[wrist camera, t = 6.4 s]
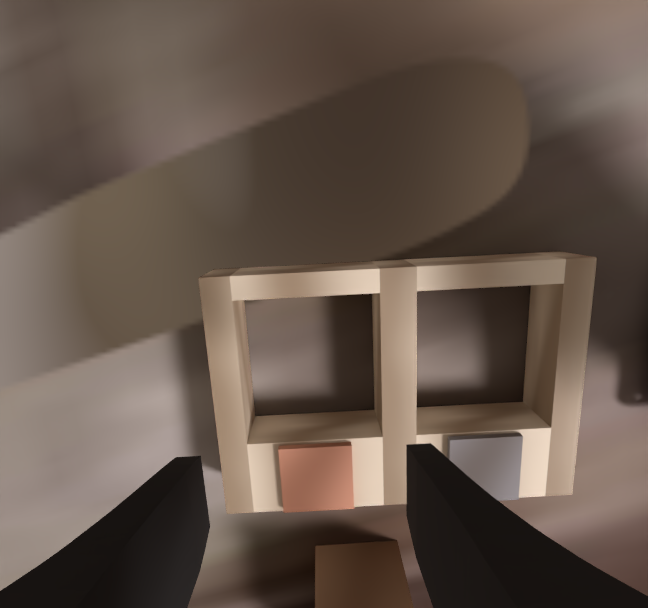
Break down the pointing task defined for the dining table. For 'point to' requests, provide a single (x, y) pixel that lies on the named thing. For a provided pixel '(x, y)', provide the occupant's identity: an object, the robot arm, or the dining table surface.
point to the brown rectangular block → (360, 576)
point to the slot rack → (400, 387)
